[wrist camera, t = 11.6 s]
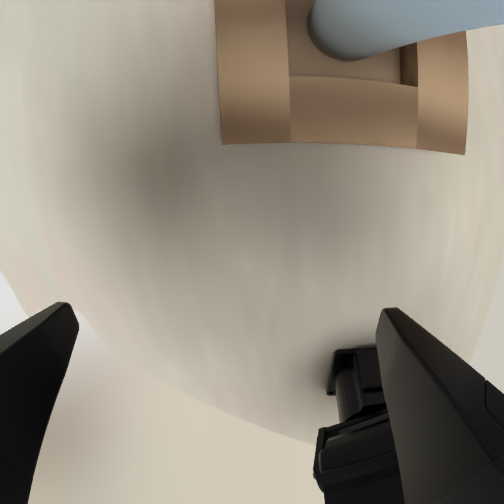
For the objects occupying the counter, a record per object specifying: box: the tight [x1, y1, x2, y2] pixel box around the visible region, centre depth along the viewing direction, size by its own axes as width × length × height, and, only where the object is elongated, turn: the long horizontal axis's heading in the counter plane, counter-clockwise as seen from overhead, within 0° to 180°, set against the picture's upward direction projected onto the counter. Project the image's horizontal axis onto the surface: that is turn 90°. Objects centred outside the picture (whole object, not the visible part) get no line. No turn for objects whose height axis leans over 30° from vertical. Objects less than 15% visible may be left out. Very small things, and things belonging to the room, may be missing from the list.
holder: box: [214, 0, 468, 155], centre depth 13 cm, size 14×14×3 cm
